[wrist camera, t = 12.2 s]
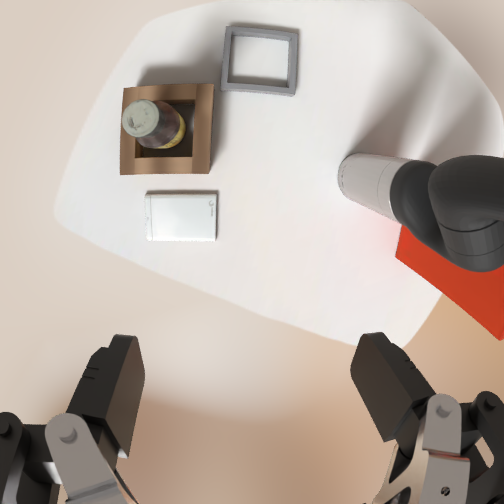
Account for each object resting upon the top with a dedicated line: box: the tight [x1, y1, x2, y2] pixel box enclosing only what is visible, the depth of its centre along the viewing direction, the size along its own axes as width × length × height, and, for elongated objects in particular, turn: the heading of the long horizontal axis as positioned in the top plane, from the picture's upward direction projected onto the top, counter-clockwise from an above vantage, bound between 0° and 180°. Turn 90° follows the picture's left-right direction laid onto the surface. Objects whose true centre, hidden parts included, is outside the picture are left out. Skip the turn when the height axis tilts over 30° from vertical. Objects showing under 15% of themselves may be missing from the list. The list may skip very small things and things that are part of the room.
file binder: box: [395, 225, 504, 340], centre depth 37 cm, size 8×17×32 cm, turn 176°
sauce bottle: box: [122, 99, 186, 148], centre depth 32 cm, size 6×6×20 cm
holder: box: [120, 84, 214, 175], centre depth 39 cm, size 14×14×5 cm
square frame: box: [220, 26, 298, 97], centre depth 38 cm, size 12×12×2 cm
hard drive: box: [144, 194, 217, 241], centre depth 47 cm, size 2×8×12 cm
